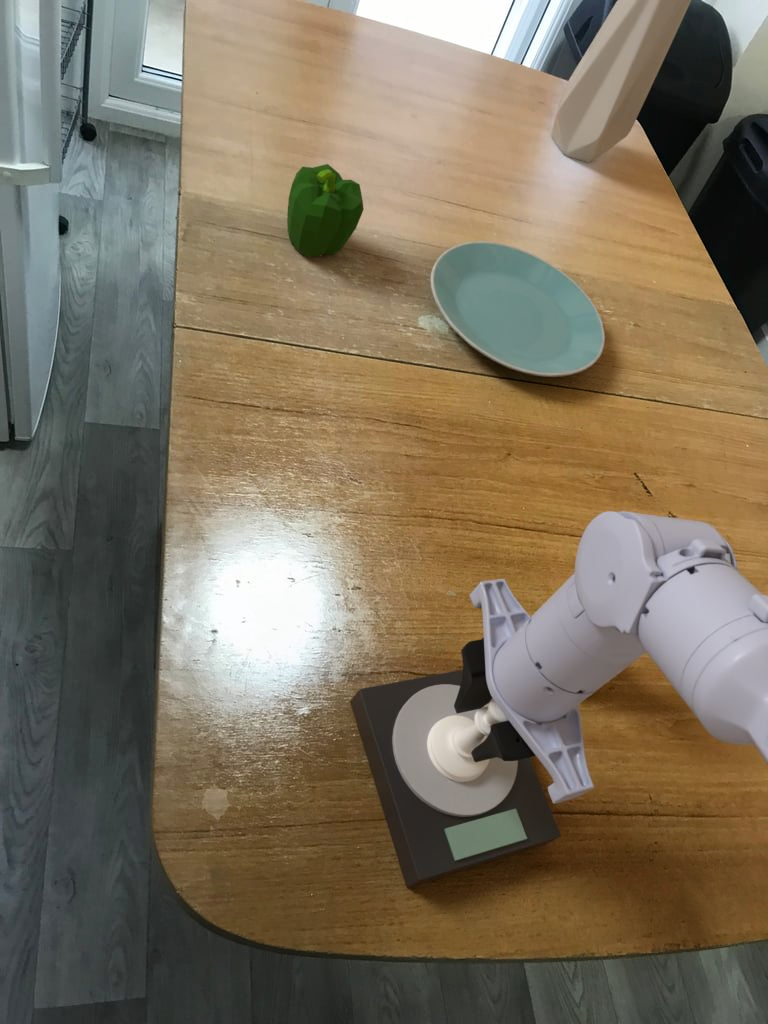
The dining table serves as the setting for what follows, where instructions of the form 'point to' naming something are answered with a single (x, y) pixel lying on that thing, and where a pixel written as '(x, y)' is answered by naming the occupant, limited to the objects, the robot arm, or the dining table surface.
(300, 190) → the bell pepper
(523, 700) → the robot arm
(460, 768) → the chess piece
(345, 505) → the dining table surface
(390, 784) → the scale
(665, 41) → the vase
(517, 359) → the plate
